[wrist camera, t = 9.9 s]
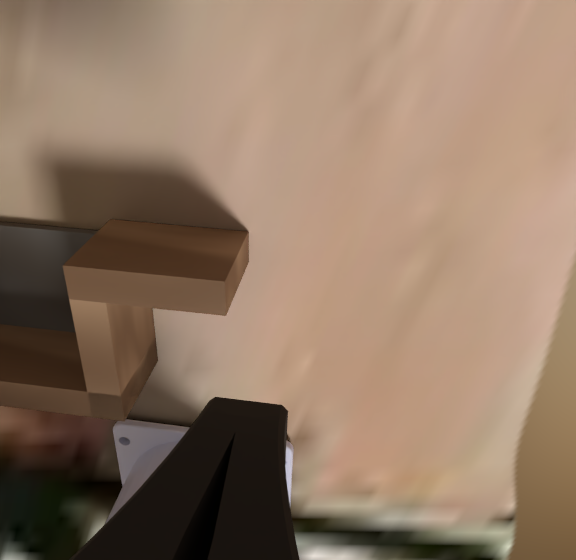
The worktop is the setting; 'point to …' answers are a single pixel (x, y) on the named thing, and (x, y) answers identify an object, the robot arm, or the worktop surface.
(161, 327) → the worktop surface
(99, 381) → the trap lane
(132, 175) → the worktop surface
